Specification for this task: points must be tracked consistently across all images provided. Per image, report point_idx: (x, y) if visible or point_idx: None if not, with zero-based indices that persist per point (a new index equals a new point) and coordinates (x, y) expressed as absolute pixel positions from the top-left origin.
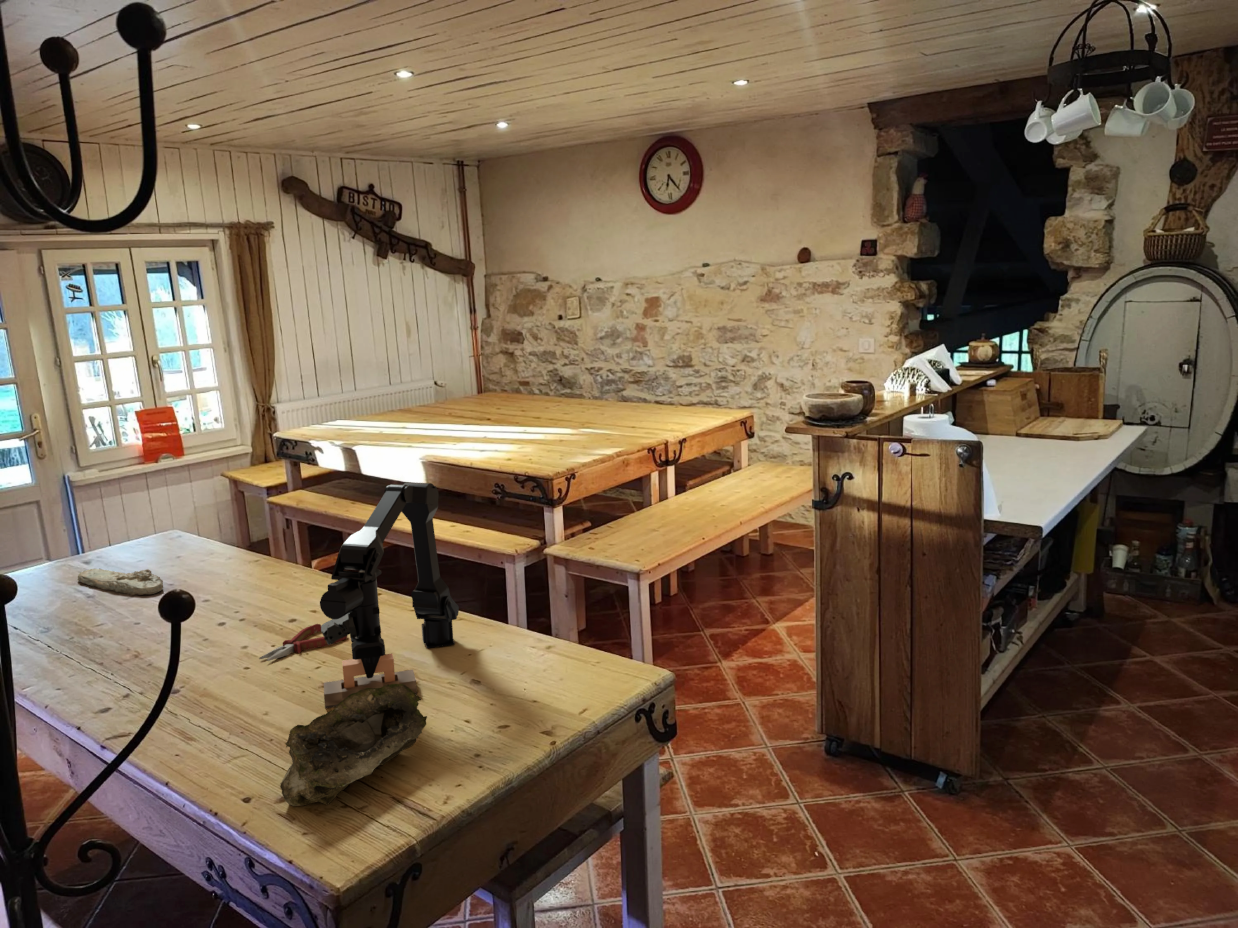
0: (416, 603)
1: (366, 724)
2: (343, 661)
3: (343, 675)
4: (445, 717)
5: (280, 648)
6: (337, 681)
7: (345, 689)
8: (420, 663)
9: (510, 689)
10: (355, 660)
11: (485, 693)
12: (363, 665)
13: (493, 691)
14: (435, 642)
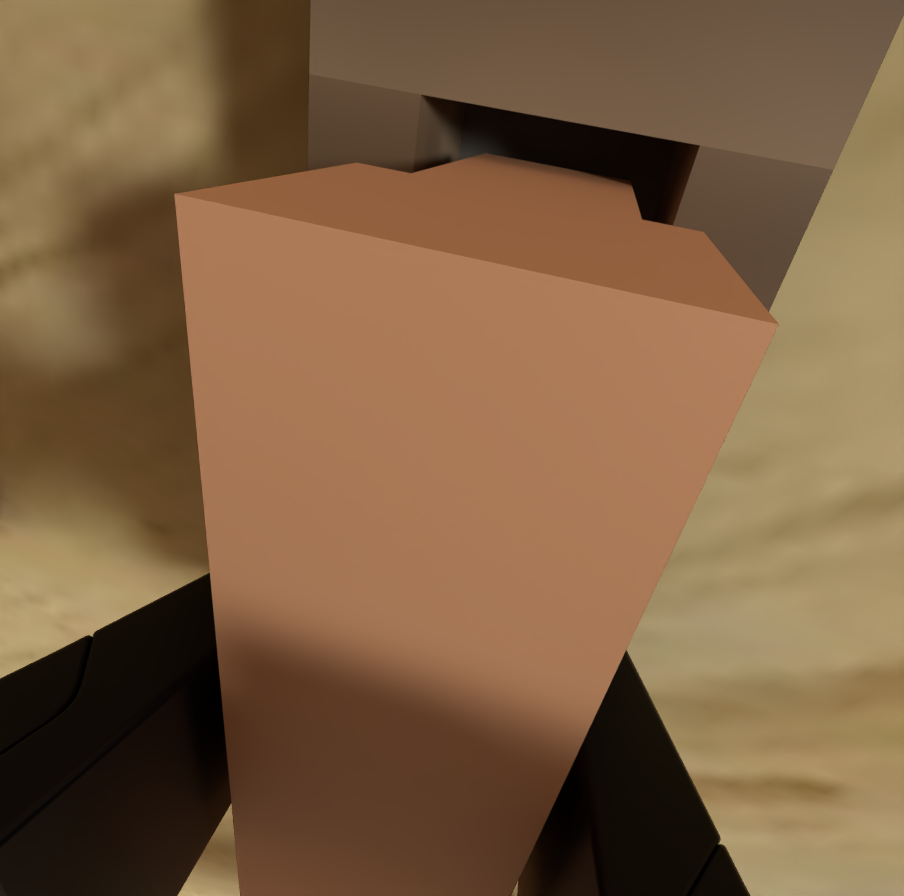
0: None
1: None
2: (621, 341)
3: (337, 169)
4: (9, 631)
5: None
6: (816, 85)
7: (372, 155)
8: (866, 883)
9: (229, 884)
10: (458, 638)
11: (222, 830)
12: (88, 638)
13: (232, 852)
14: None
